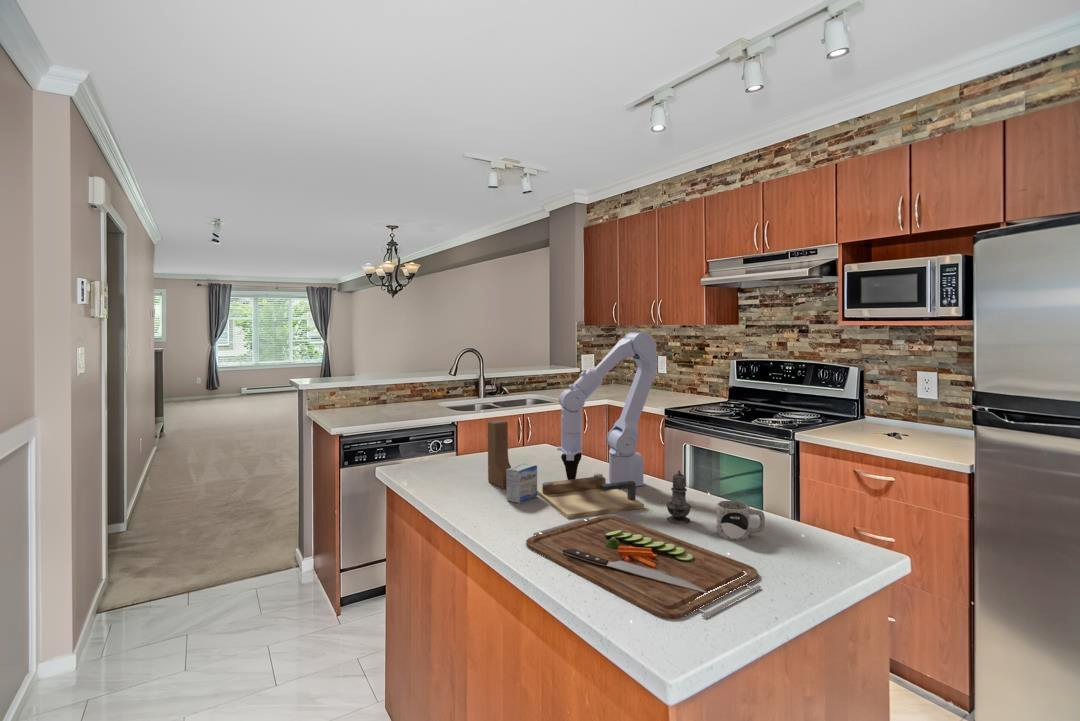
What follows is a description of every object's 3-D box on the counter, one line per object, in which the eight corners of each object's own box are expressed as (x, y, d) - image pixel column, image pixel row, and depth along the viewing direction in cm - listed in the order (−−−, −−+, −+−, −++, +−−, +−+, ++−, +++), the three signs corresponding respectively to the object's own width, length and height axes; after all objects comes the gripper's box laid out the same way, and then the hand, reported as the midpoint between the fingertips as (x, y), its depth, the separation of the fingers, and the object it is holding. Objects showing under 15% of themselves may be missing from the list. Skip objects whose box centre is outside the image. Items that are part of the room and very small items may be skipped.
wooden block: (516, 486, 160) (516, 423, 159) (503, 489, 158) (502, 425, 156) (500, 479, 167) (500, 419, 166) (487, 481, 165) (486, 421, 164)
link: (601, 483, 158) (601, 472, 158) (608, 487, 154) (608, 475, 154) (540, 490, 152) (540, 478, 151) (545, 495, 148) (545, 482, 148)
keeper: (632, 501, 146) (632, 480, 146) (636, 503, 144) (636, 482, 144) (600, 505, 143) (600, 484, 142) (603, 508, 141) (603, 486, 140)
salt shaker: (692, 525, 129) (693, 473, 128) (666, 523, 130) (666, 472, 129) (690, 516, 134) (691, 467, 134) (665, 515, 136) (666, 466, 135)
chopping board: (778, 583, 101) (778, 566, 101) (684, 633, 85) (684, 614, 85) (603, 516, 137) (603, 503, 136) (513, 542, 120) (513, 528, 120)
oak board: (605, 485, 160) (605, 482, 160) (644, 507, 141) (644, 504, 141) (536, 493, 153) (536, 490, 153) (567, 518, 133) (567, 514, 133)
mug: (719, 540, 120) (720, 509, 119) (714, 529, 126) (714, 500, 126) (768, 542, 118) (769, 511, 118) (760, 531, 125) (761, 501, 125)
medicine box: (519, 504, 144) (519, 471, 144) (506, 501, 147) (505, 468, 147) (537, 496, 151) (537, 464, 150) (524, 493, 153) (524, 462, 153)
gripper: (559, 427, 165) (559, 472, 166) (555, 437, 151) (555, 486, 152) (583, 427, 165) (583, 473, 165) (581, 437, 150) (581, 487, 151)
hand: (571, 479), depth 159 cm, fingers closed
